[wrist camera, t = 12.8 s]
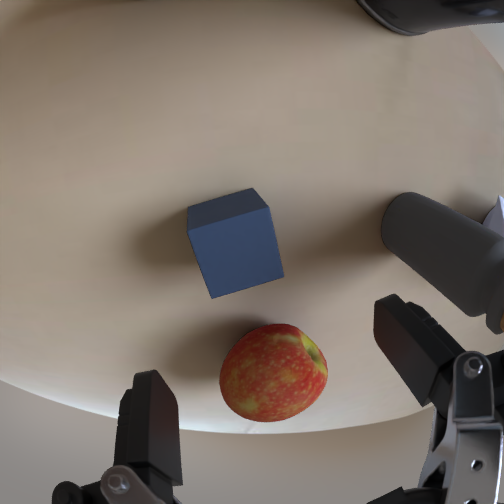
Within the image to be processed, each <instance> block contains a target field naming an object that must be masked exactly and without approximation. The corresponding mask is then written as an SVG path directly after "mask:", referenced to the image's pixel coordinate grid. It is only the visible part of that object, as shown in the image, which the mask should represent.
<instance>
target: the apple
mask: <svg viewBox="0 0 504 504" xmlns="http://www.w3.org/2000/svg"><path fill="white" fill-rule="evenodd" d="M327 377H328V369H327V364H326V360H325V358H324V356H323V354H322V352H321V351H320V349H319V348H318V346H317V345H316V344H315V343H314V342H313V341H312V340H311V339H310V338H309V337H308V336H307V335H306V334H304V333H303V332H302V331H301V330H299V329H298V328H297V327H294V326H291V325H289V324H270V325H266V326H263V327H260V328H257V329H255V330H253V331H251V332H250V333H248V334H246V335H245V336H244V337H242V338H241V339H240V340H239V341H238V342H237V343H236V344H235V345H234V347H233V348H232V349H231V351H230V352H229V353H228V355H227V356H226V358H225V360H224V363H223V365H222V368H221V372H220V378H219V384H220V389H221V393H222V396H223V398H224V401H225V402H226V404H227V405H228V406H229V407H230V408H231V410H233V411H234V412H235V413H237V414H238V415H240V416H241V417H243V418H245V419H249V420H253V421H257V422H275V421H281V420H285V419H288V418H290V417H293V416H295V415H297V414H298V413H300V412H302V411H304V410H305V409H306V408H308V407H309V406H310V405H311V404H313V403H314V402H315V401H316V400H317V399H318V397H319V396H320V394H321V393H322V391H323V389H324V387H325V385H326V382H327Z"/></svg>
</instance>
